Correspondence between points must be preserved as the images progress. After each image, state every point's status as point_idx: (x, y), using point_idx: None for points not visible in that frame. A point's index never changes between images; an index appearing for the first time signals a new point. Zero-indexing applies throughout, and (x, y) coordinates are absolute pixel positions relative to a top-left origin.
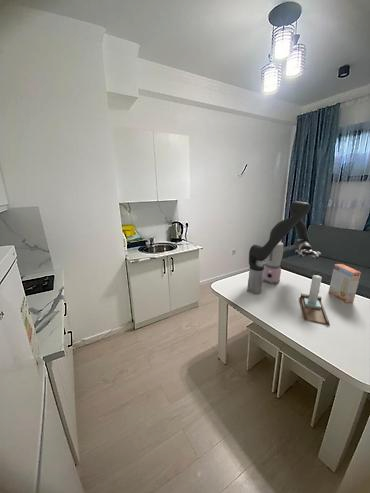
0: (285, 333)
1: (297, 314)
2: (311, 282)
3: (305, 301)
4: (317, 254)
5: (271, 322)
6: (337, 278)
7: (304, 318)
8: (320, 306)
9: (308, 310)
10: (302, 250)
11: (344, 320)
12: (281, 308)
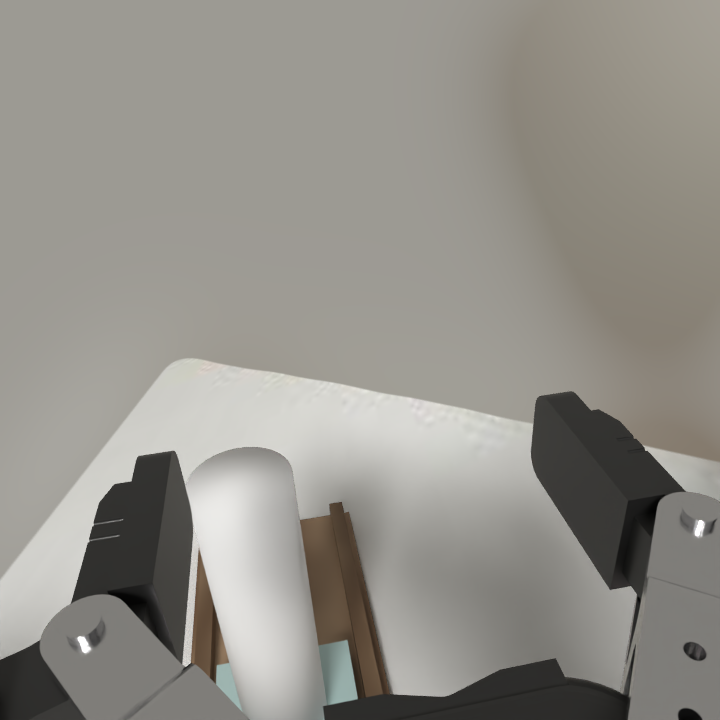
0: (418, 402)
1: (393, 551)
2: (303, 547)
3: (350, 690)
4: (83, 610)
5: (502, 428)
6: None
7: (346, 514)
8: (221, 669)
9: (322, 615)
10: (714, 645)
11: None
12: (511, 562)
